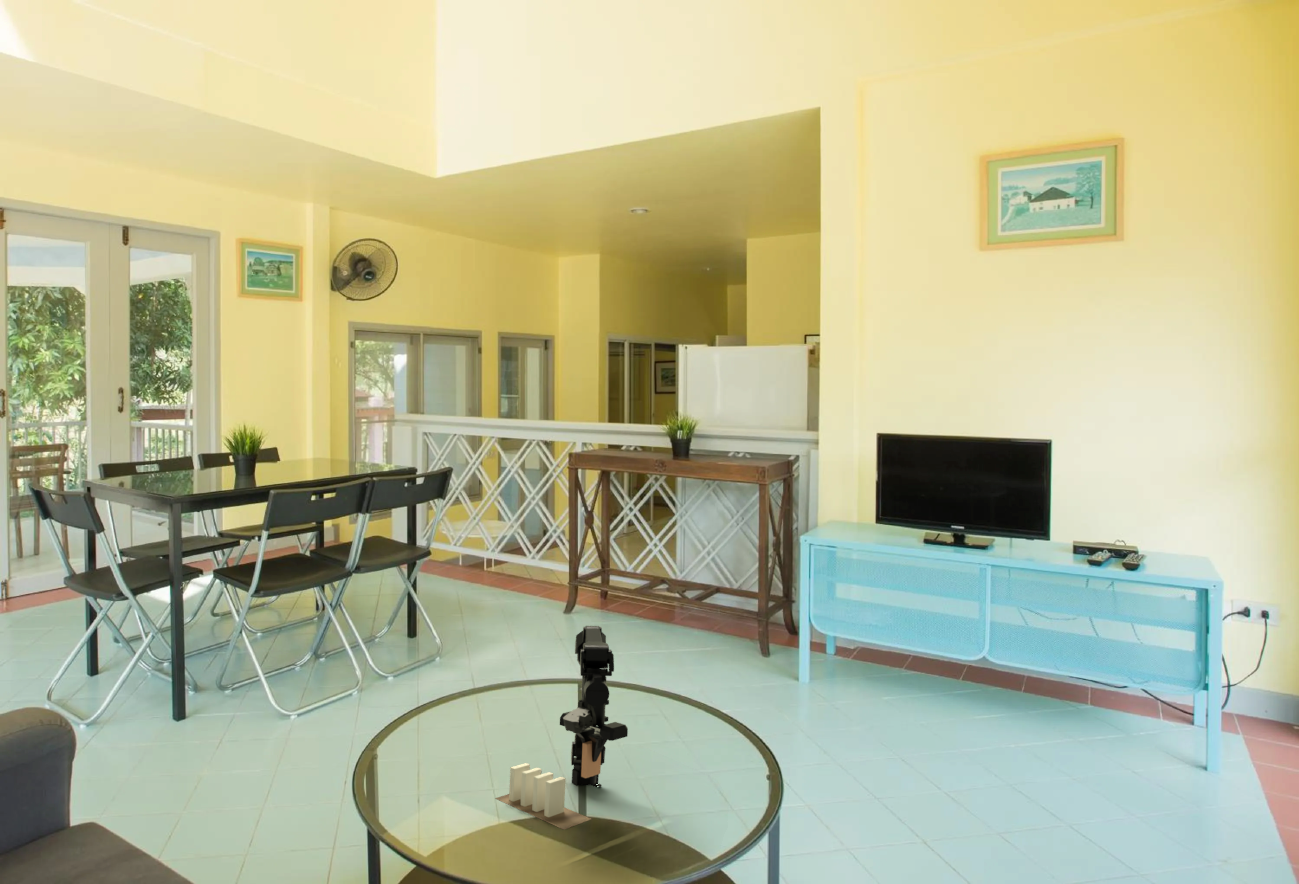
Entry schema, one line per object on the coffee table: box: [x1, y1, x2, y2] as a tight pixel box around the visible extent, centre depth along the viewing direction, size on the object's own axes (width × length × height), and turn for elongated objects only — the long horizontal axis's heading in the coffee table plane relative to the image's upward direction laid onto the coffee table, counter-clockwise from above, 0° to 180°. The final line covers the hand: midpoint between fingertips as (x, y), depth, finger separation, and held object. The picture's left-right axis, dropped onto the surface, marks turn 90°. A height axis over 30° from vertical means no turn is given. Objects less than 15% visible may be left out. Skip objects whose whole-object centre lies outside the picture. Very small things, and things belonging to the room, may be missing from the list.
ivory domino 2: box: [521, 767, 543, 807], centre depth 202 cm, size 2×5×8 cm, turn 138°
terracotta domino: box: [581, 741, 602, 778], centre depth 199 cm, size 2×5×8 cm, turn 139°
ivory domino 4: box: [544, 776, 567, 817], centre depth 196 cm, size 2×5×8 cm, turn 138°
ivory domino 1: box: [508, 762, 531, 801], centre depth 205 cm, size 2×5×8 cm, turn 138°
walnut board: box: [494, 793, 592, 830], centre depth 199 cm, size 26×9×1 cm, turn 48°
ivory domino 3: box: [532, 771, 554, 812], centre depth 199 cm, size 2×5×8 cm, turn 138°
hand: (591, 760), depth 199 cm, fingers closed on terracotta domino, 2 cm apart
